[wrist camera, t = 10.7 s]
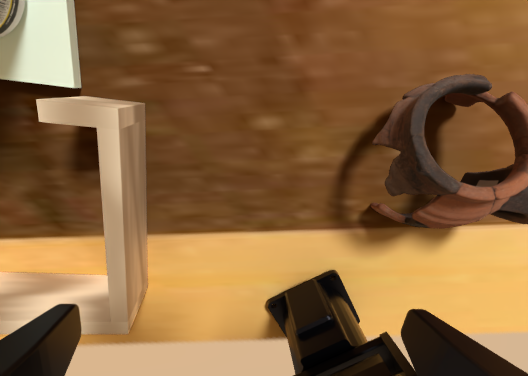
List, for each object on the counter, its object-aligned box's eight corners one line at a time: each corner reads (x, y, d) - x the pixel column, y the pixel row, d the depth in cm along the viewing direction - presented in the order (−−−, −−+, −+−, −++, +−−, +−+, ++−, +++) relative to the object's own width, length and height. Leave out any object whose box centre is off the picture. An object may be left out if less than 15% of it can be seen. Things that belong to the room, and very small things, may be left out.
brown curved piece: (330, 205, 22) (375, 184, 14) (365, 102, 24) (423, 31, 16) (475, 261, 22) (608, 274, 14) (500, 153, 23) (631, 107, 15)
